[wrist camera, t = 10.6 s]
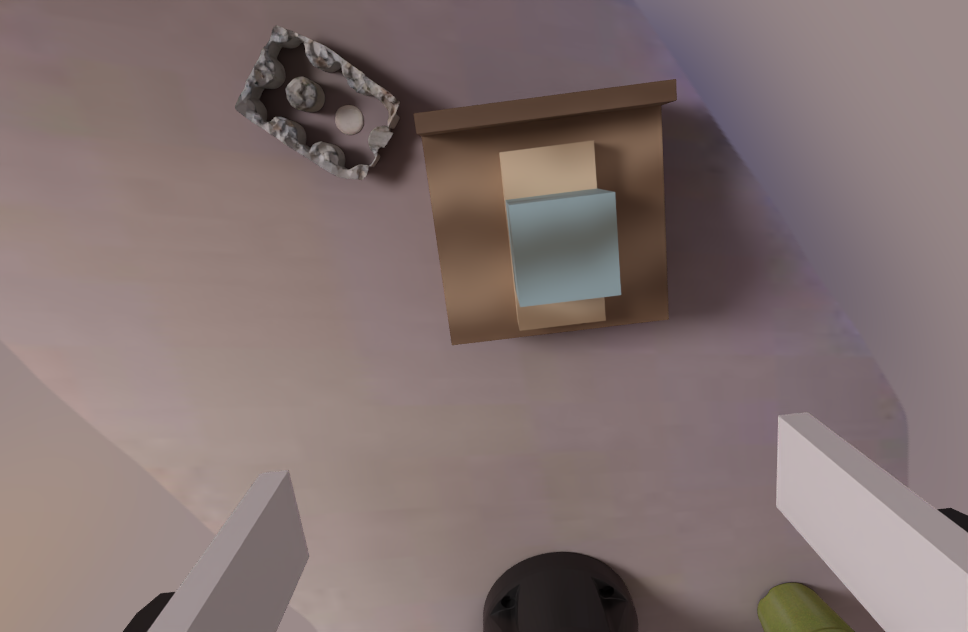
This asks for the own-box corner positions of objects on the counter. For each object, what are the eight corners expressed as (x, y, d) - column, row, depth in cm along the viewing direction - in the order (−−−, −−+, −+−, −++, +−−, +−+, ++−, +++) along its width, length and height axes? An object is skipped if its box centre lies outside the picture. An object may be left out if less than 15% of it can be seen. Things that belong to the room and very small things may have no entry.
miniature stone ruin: (413, 107, 43) (406, 101, 39) (364, 188, 45) (353, 191, 41) (292, 23, 41) (273, 9, 38) (246, 112, 43) (223, 106, 39)
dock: (641, 297, 47) (683, 331, 37) (456, 319, 47) (449, 358, 38) (632, 98, 43) (676, 79, 33) (428, 125, 43) (413, 113, 34)
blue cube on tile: (599, 312, 40) (623, 343, 33) (517, 322, 40) (525, 354, 33) (588, 141, 37) (611, 136, 30) (499, 152, 37) (503, 150, 30)
